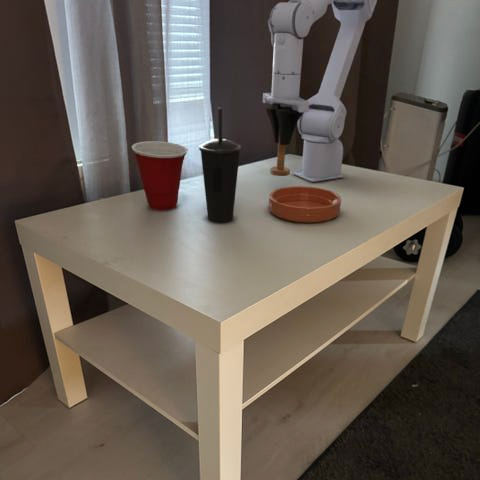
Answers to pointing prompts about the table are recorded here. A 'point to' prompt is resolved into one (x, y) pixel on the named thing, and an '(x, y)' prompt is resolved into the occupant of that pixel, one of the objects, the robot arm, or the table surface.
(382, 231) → the table surface
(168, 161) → the plastic cup
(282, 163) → the stirring stick
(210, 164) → the drinking cup
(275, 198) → the bowl
